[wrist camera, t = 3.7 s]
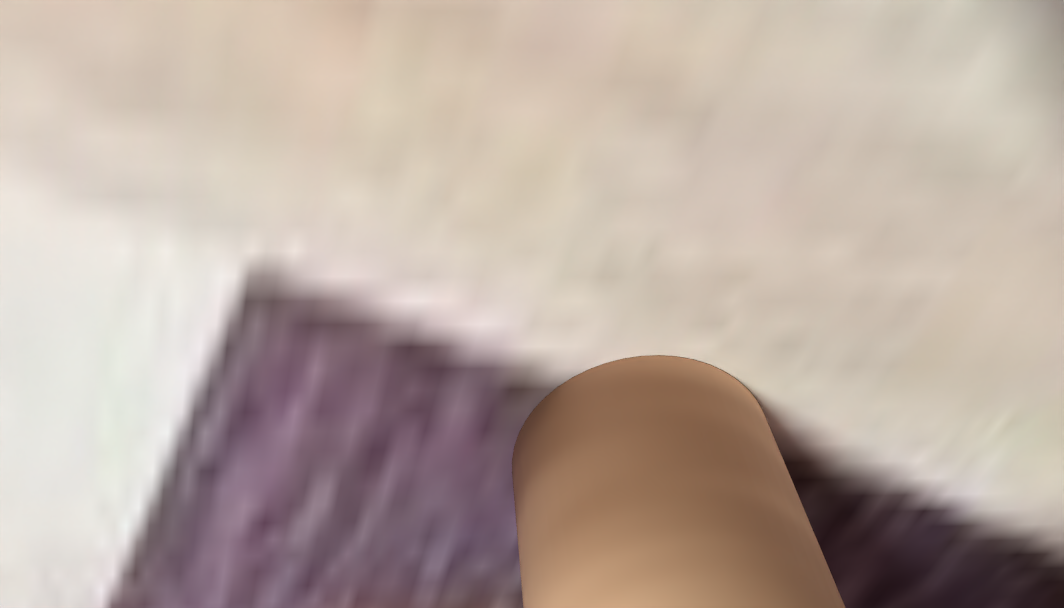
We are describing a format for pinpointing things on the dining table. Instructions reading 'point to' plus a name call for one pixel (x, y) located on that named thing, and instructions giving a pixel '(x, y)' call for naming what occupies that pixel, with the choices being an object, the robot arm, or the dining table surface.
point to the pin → (660, 496)
